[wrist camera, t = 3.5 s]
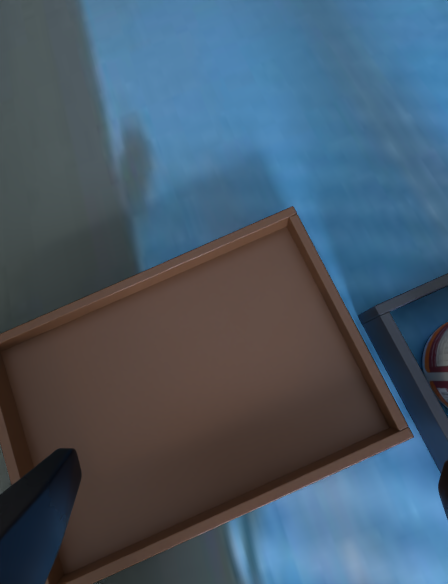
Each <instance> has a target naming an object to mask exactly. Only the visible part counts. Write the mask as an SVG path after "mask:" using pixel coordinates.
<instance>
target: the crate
mask: <svg viewBox="0 0 448 584" xmlns="http://www.w3.org/2000/svg"><path fill="white" fill-rule="evenodd" d="M447 286H448V273H447V274H445V275H443V276H441V277H438V278H436V279H434V280H432V281H430V282H427V283H425V284H423V285H421V286H418V287H416V288H414V289H412V290H409V291H407V292H405V293H403V294H400V295H398V296H396V297H394V298H391V299H389V300H387V301H385V302H382V303H380V304H378V305H376V306H374V307H372V308H370V309H369V310H367V311H365V312H364V313H362V314H360V315H359V316H358V317H359V319H360V321H361V323H362V324H363V327H364V328H365V330H366V332H367V334H368V336H369V338H370V340H371V342H372V344H373V346H374V347H375V349H376V351H377V353H378V355H379V357H380V359H381V361H382V363H383V364H384V366H385V368H386V370H387V372H388V374H389V376H390V378H391V380H392V382H393V383H394V385H395V387H396V389H397V391H398V393H399V395H400V397H401V399H402V400H403V402H404V404H405V406H406V408H407V410H408V412H409V414H410V416H411V417H412V419H413V421H414V423H415V425H416V427H417V429H418V431H419V433H420V435H421V436H422V438H423V440H424V442H425V444H426V446H427V448H428V450H429V452H430V453H431V455H432V457H433V459H434V461H435V463H436V465H437V467H438V469H439V471H440V472H441V473H442V469H443V465H444V463H445V461H447V460H448V418H447V416H446V414H445V412H444V410H443V409H442V407H441V405H440V403H439V401H438V399H437V398H436V396H435V394H434V392H433V390H432V389H431V387H430V385H429V383H428V381H427V380H426V378H425V376H424V374H423V372H422V370H421V369H420V367H419V365H418V363H417V361H416V360H415V358H414V356H413V354H412V352H411V350H410V349H409V347H408V345H407V343H406V341H405V340H404V338H403V336H402V334H401V332H400V330H399V329H398V327H397V325H396V323H395V321H394V320H393V318H392V316H391V314H390V312H391V311H393V310H395V309H397V308H400V307H402V306H404V305H406V304H409V303H411V302H413V301H415V300H418V299H420V298H422V297H424V296H427V295H429V294H431V293H433V292H435V291H438V290H440V289H442V288H444V287H447Z"/></svg>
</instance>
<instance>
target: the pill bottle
mask: <svg viewBox="0 0 448 584" xmlns="http://www.w3.org/2000/svg"><path fill="white" fill-rule="evenodd" d="M422 363H423V372H424V376H425V378H426V380H427V381H428V383H429V385H430V387H431V389H432V390H433V392H434V394H435V396H436V398H437V399H438V400H439V401H440V402H441V403H442V404H443V405H444V406H445V407H447V408H448V322H447V323H445V324H443V325H442V326H440V327H439V328H438V329H437V330H436V331H434V333H433V334H432V335H431V336H430V338H429V339H428V341H427V343H426V345H425V348H424V352H423V359H422Z"/></svg>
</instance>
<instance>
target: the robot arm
mask: <svg viewBox="0 0 448 584" xmlns="http://www.w3.org/2000/svg"><path fill="white" fill-rule="evenodd" d="M81 478H82V471H81V467H80V463H79V459H78V455H77V451H76V450H75V449H73V448H59V449H57V450H55V451H54V452H53V453H52V454H50V455H49V456H48V457H47V458H45V459H44V460H43V461H42V462H40V463H39V464H38V465H37V466H35V467H34V468H33V469H32V470H30V471H29V472H28V473H27V474H25V475H24V476H23V477H22V478H20V479H19V480H18V481H17V482H15V483H14V484H13V485H12V486H10V487H9V488H8V489H7V490H5V491H4V492H3V493H2V494H0V584H45V583H46V580H47V578H48V576H49V573H50V571H51V568H52V566H53V564H54V561H55V559H56V556H57V554H58V551H59V549H60V546H61V543H62V540H63V537H64V534H65V531H66V528H67V525H68V521H69V518H70V515H71V512H72V508H73V505H74V502H75V499H76V495H77V492H78V489H79V486H80V482H81ZM438 490H439V495H440V498H441V501H442V504H443V507H444V510H445V513H446V516H447V520H448V460H447V461H445V463H444V465H443V469H442V473H441V476H440V480H439V484H438Z"/></svg>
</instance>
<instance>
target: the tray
mask: <svg viewBox="0 0 448 584" xmlns="http://www.w3.org/2000/svg"><path fill="white" fill-rule="evenodd" d="M413 437H414V436H413V434H412V432H411V430H410V428H409V427H408V425H407V423H406V421H405V419H404V417H403V415H402V413H401V411H400V409H399V407H398V405H397V404H396V402H395V400H394V398H393V396H392V394H391V392H390V390H389V388H388V386H387V384H386V382H385V381H384V379H383V377H382V375H381V373H380V371H379V369H378V367H377V365H376V363H375V361H374V360H373V358H372V356H371V354H370V352H369V350H368V348H367V346H366V344H365V342H364V340H363V339H362V337H361V335H360V333H359V331H358V329H357V327H356V325H355V323H354V321H353V319H352V318H351V316H350V314H349V312H348V310H347V308H346V306H345V304H344V302H343V300H342V298H341V297H340V295H339V293H338V291H337V289H336V287H335V285H334V283H333V281H332V279H331V277H330V275H329V274H328V272H327V270H326V268H325V266H324V264H323V262H322V260H321V258H320V256H319V254H318V253H317V251H316V249H315V247H314V245H313V243H312V241H311V239H310V237H309V235H308V233H307V232H306V230H305V228H304V226H303V224H302V222H301V220H300V218H299V216H298V215H297V212H296V211H295V209H294V207H293V206H292V207H290V208H287V209H285V210H283V211H281V212H278V213H276V214H274V215H271V216H269V217H267V218H265V219H262V220H260V221H258V222H255V223H253V224H251V225H249V226H246V227H244V228H242V229H239V230H237V231H235V232H233V233H230V234H228V235H226V236H223V237H221V238H219V239H217V240H214V241H212V242H210V243H207V244H205V245H203V246H200V247H198V248H196V249H194V250H191V251H189V252H187V253H184V254H182V255H180V256H178V257H175V258H173V259H171V260H168V261H166V262H164V263H162V264H159V265H157V266H155V267H152V268H150V269H148V270H146V271H143V272H141V273H139V274H136V275H134V276H132V277H130V278H127V279H125V280H123V281H120V282H118V283H116V284H114V285H111V286H109V287H107V288H104V289H102V290H100V291H97V292H95V293H93V294H91V295H88V296H86V297H84V298H81V299H79V300H77V301H75V302H72V303H70V304H68V305H65V306H63V307H61V308H59V309H56V310H54V311H52V312H49V313H47V314H45V315H43V316H40V317H38V318H36V319H33V320H31V321H29V322H27V323H24V324H22V325H20V326H17V327H15V328H13V329H11V330H8V331H6V332H4V333H1V334H0V444H1V448H2V451H3V455H4V459H5V463H6V466H7V470H8V474H9V477H10V481H11V485H13V484H14V483H15V482H17V481H18V480H19V479H20V478H22V477H23V476H24V475H25V474H27V473H28V472H29V471H30V470H32V469H33V468H34V467H35V466H37V465H38V464H39V463H40V462H42V461H43V460H44V459H45V458H47V457H48V456H49V455H50V454H52V453H53V452H54V451H55V450H57V449H59V448H73V449H75V450H76V451H77V455H78V459H79V463H80V467H81V471H82V478H81V482H80V486H79V489H78V492H77V495H76V499H75V502H74V505H73V508H72V512H71V515H70V518H69V521H68V525H67V528H66V531H65V534H64V537H63V540H62V543H61V546H60V549H59V551H58V554H57V556H56V559H55V561H54V564H53V566H52V568H51V571H50V573H49V576H48V578H47V580H46V583H45V584H93V583H95V582H97V581H99V580H102V579H104V578H106V577H108V576H110V575H113V574H115V573H117V572H119V571H121V570H124V569H126V568H128V567H130V566H132V565H135V564H137V563H139V562H141V561H143V560H146V559H148V558H150V557H152V556H154V555H157V554H159V553H161V552H163V551H165V550H168V549H170V548H172V547H174V546H176V545H178V544H181V543H183V542H185V541H187V540H189V539H192V538H194V537H196V536H198V535H200V534H203V533H205V532H207V531H209V530H211V529H214V528H216V527H218V526H220V525H222V524H225V523H227V522H229V521H231V520H233V519H236V518H238V517H240V516H242V515H244V514H247V513H249V512H251V511H253V510H255V509H258V508H260V507H262V506H264V505H266V504H269V503H271V502H273V501H275V500H277V499H279V498H282V497H284V496H286V495H288V494H290V493H293V492H295V491H297V490H299V489H301V488H304V487H306V486H308V485H310V484H312V483H315V482H317V481H319V480H321V479H323V478H326V477H328V476H330V475H332V474H334V473H337V472H339V471H341V470H343V469H345V468H348V467H350V466H352V465H354V464H356V463H359V462H361V461H363V460H365V459H367V458H369V457H372V456H374V455H376V454H378V453H380V452H383V451H385V450H387V449H389V448H391V447H394V446H396V445H398V444H400V443H402V442H405V441H407V440H409V439H411V438H413Z"/></svg>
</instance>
